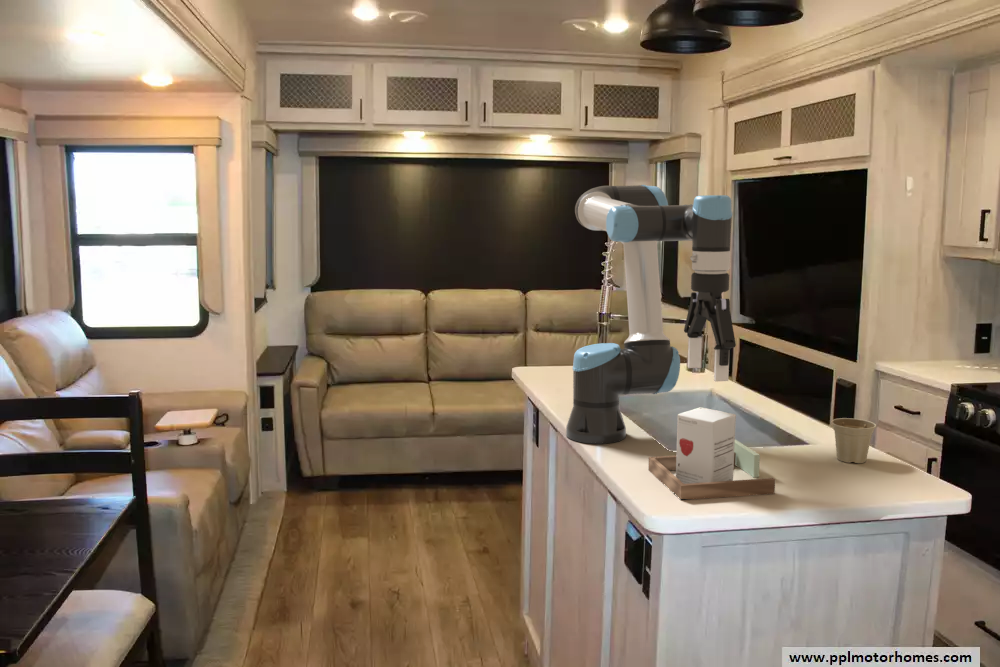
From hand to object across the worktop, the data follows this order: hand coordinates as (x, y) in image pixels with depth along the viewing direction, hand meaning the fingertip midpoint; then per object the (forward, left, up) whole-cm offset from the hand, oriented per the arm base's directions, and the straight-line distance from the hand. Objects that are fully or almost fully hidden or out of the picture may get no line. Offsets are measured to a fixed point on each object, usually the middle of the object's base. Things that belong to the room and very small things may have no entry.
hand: (707, 374), depth 167 cm
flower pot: (-8, +39, -24) cm, 46 cm away
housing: (0, +1, -23) cm, 23 cm away
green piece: (-10, +13, -23) cm, 28 cm away
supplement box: (0, 0, -24) cm, 24 cm away
